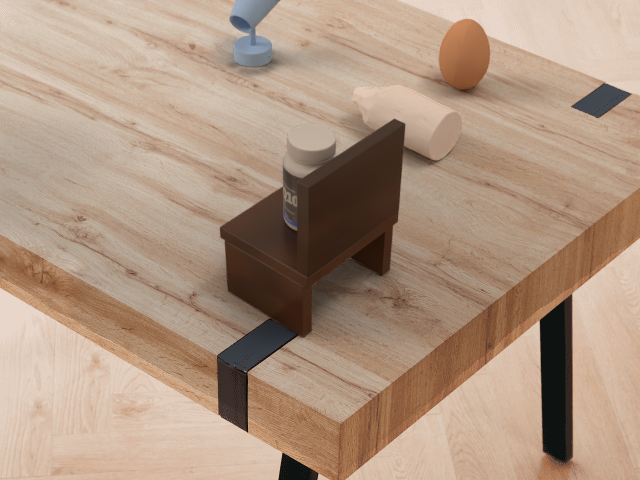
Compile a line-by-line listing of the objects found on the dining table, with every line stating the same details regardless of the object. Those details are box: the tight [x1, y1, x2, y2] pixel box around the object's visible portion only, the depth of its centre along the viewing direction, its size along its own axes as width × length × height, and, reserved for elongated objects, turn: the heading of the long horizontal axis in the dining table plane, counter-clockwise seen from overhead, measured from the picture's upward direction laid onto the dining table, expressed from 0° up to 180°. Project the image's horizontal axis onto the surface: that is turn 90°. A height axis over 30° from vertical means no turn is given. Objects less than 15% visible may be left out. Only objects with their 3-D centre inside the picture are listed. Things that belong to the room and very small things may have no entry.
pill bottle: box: [282, 122, 339, 231], centre depth 90 cm, size 5×5×8 cm
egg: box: [438, 18, 491, 90], centre depth 121 cm, size 6×6×8 cm
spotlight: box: [228, 0, 281, 68], centre depth 123 cm, size 5×10×7 cm
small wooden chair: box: [219, 119, 406, 338], centre depth 92 cm, size 10×12×16 cm
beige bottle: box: [352, 84, 463, 161], centre depth 113 cm, size 6×12×6 cm, turn 51°
